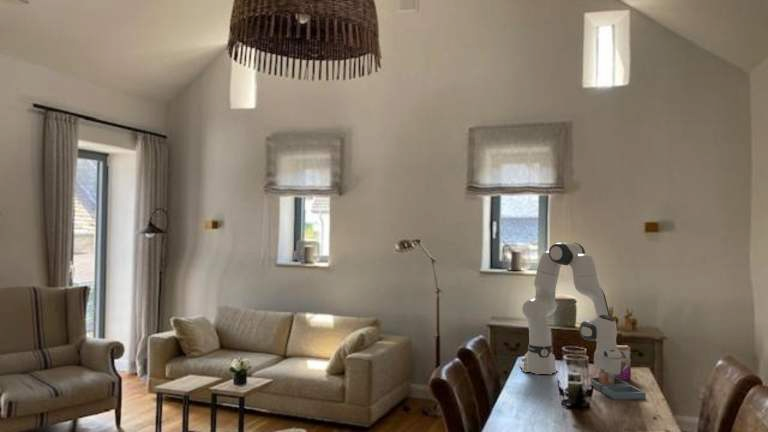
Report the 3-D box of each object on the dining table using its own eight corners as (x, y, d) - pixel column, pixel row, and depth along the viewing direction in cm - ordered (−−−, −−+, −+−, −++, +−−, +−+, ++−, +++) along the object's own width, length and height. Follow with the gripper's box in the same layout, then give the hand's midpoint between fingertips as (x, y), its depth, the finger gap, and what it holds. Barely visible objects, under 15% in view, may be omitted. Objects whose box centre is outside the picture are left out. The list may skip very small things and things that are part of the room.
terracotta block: (598, 382, 275) (599, 372, 275) (609, 382, 276) (609, 371, 276) (603, 385, 270) (603, 374, 270) (614, 385, 271) (614, 374, 271)
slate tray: (602, 392, 264) (601, 386, 264) (631, 391, 265) (631, 385, 265) (614, 400, 252) (614, 393, 252) (645, 399, 253) (645, 392, 253)
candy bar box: (607, 380, 285) (607, 346, 286) (605, 377, 290) (604, 344, 291) (631, 380, 284) (631, 347, 285) (628, 378, 289) (627, 345, 290)
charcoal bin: (587, 383, 279) (586, 377, 279) (614, 382, 280) (614, 376, 280) (600, 391, 265) (600, 385, 265) (629, 390, 266) (629, 384, 266)
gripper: (590, 345, 283) (590, 374, 283) (610, 355, 263) (610, 385, 263) (602, 345, 284) (602, 373, 283) (623, 355, 263) (623, 385, 263)
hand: (606, 379), depth 273 cm, fingers closed on terracotta block, 5 cm apart
